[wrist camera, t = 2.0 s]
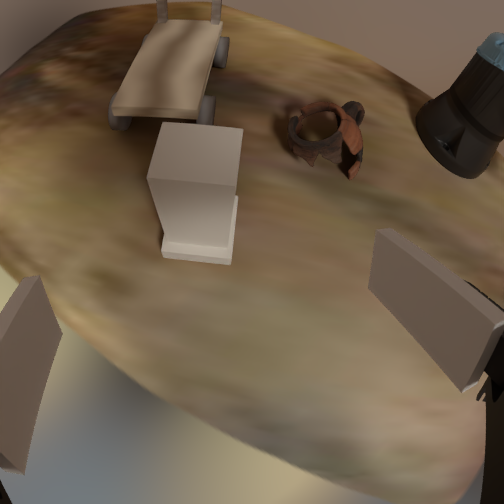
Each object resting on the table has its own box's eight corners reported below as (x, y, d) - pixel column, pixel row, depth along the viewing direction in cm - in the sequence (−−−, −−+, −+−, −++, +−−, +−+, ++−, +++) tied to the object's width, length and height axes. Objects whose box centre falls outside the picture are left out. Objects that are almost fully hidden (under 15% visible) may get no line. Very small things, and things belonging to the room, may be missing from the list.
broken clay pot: (345, 202, 39) (332, 162, 32) (287, 176, 44) (264, 137, 37) (387, 135, 40) (380, 91, 33) (330, 116, 45) (315, 75, 38)
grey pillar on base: (236, 204, 36) (251, 120, 23) (230, 264, 34) (242, 200, 21) (174, 198, 35) (159, 112, 22) (163, 257, 33) (136, 190, 20)
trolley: (228, 53, 45) (240, -51, 27) (208, 146, 38) (213, 8, 20) (153, 49, 44) (145, -50, 26) (112, 140, 37) (73, 16, 19)
